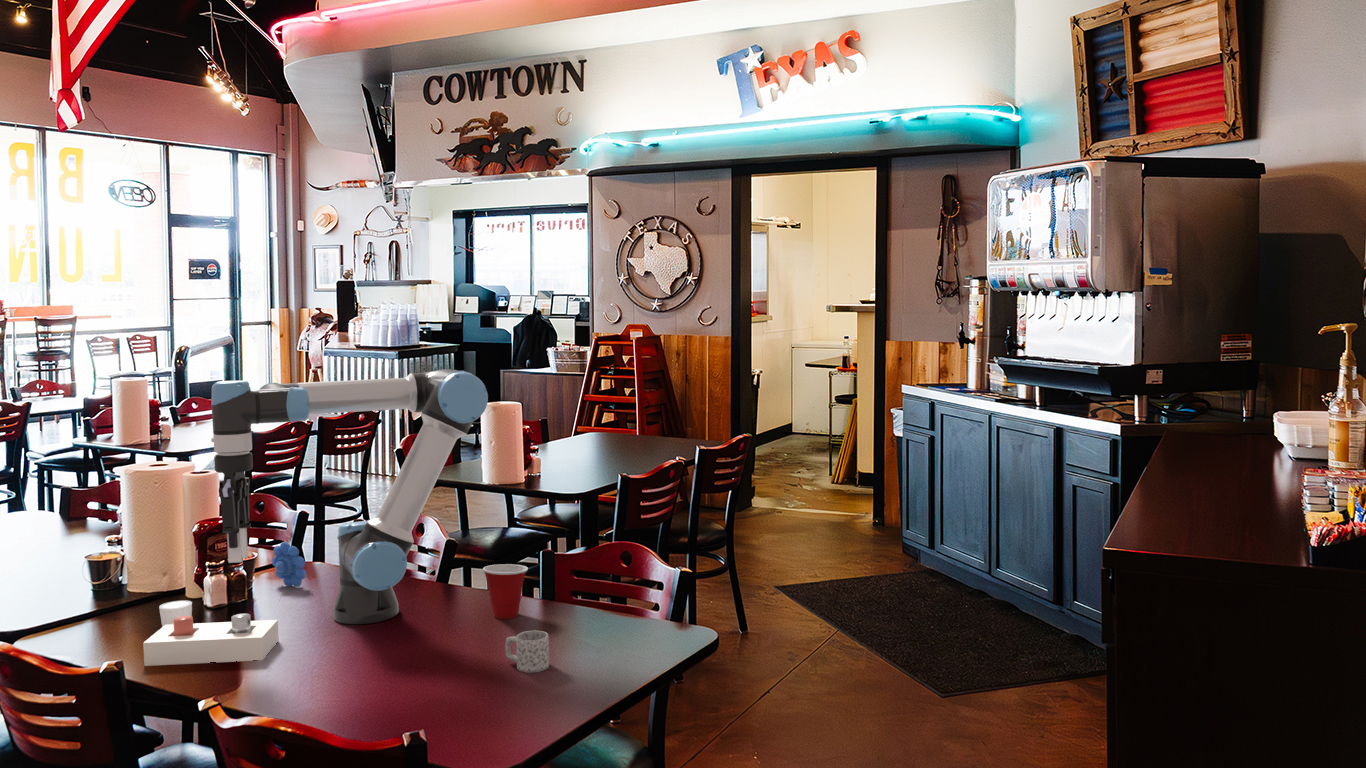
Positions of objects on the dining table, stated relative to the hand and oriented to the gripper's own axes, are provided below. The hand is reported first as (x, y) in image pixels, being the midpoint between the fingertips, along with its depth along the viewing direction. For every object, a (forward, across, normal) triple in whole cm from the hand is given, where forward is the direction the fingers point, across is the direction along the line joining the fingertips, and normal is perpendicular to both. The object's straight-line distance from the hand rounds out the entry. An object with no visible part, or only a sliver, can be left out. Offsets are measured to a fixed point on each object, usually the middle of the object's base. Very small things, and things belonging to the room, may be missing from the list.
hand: (238, 559), depth 219 cm
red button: (+18, 0, -12) cm, 21 cm away
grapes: (+21, -51, -4) cm, 55 cm away
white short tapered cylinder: (+21, -15, -19) cm, 32 cm away
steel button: (+18, 0, 0) cm, 18 cm away
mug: (+21, +17, +62) cm, 68 cm away
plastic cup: (+21, -18, +56) cm, 62 cm away
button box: (+21, 0, -6) cm, 21 cm away
